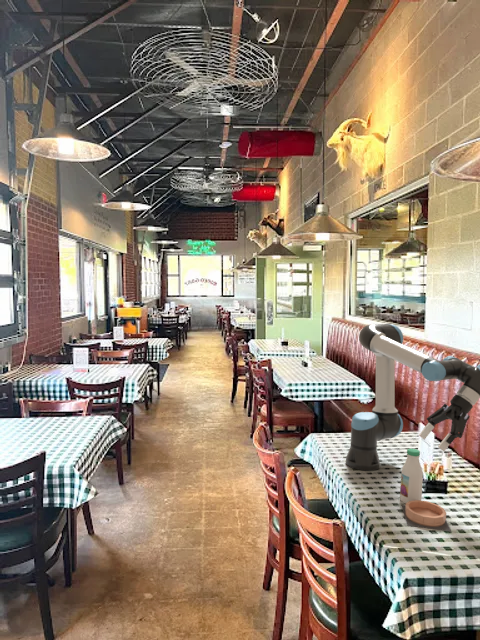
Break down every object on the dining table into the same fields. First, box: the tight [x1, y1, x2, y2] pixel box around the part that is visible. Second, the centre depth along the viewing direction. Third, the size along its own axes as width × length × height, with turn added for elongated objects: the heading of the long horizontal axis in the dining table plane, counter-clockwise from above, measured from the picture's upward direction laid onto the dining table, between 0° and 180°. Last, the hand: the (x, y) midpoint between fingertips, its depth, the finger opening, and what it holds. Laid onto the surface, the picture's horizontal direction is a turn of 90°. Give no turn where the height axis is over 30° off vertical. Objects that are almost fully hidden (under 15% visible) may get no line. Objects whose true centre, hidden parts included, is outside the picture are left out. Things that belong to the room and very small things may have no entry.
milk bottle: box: [399, 448, 424, 504], centre depth 176 cm, size 8×8×20 cm
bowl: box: [404, 499, 447, 527], centre depth 163 cm, size 13×13×3 cm
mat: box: [400, 504, 453, 532], centre depth 163 cm, size 14×16×1 cm
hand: (430, 443), depth 178 cm, fingers open, 13 cm apart
